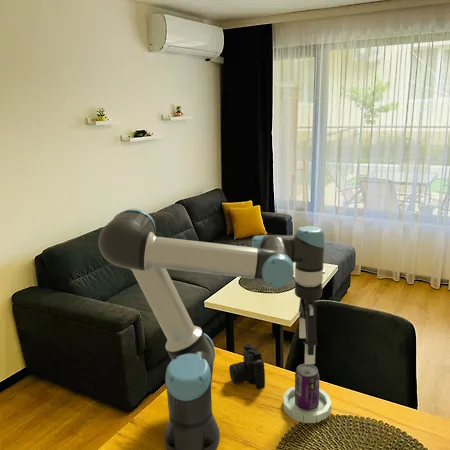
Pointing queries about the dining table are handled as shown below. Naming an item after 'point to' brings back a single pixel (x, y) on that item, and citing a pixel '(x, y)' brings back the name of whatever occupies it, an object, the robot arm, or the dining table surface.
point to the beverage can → (307, 387)
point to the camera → (249, 368)
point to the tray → (306, 415)
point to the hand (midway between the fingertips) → (306, 349)
